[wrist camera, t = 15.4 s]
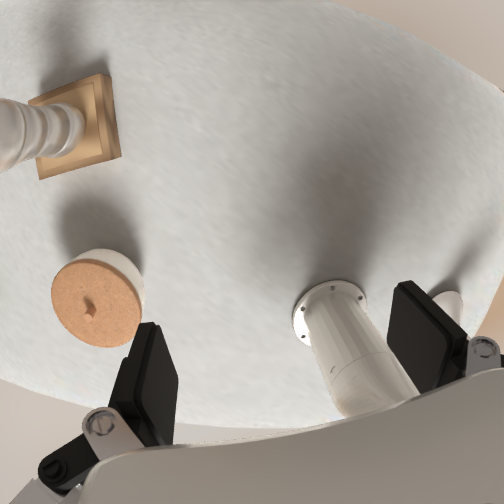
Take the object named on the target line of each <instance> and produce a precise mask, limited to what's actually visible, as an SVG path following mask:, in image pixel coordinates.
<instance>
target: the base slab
mask: <svg viewBox="0 0 504 504" xmlns="http://www.w3.org/2000/svg"><path fill="white" fill-rule="evenodd" d="M61 102H65V103H69V104H72V105H73V106H75V107H77V108H78V109H79V110H80V111H81V112H82V114H83V116H84V119H85V132H84V136H83V138H82V140H81V142H80V144H79V145H78V146H77V147H76V148H75V149H74V150H73V151H72V152H70V153H68V154H67V155H65V156H63V157H60V158H47V157H36V158H35V159H36V164H37V170H38V175H39V180H42V179H45V178H48V177H52V176H55V175H58V174H61V173H65V172H68V171H72V170H75V169H79V168H82V167H86V166H90V165H93V164H97V163H101V162H105V161H109V160H113V159H116V158H119V157H122V156H121V150H120V144H119V138H118V131H117V124H116V117H115V109H114V101H113V92H112V82H111V77H108V76H106V75H104V74H101V73H99V74H96V75H93V76H90V77H87V78H84V79H81V80H78V81H75V82H73V83H70V84H67V85H65V86H62V87H59V88H57V89H54V90H52V91H50V92H47V93H45V94H42V95H40V96H38V97H36V98H33V99H31V100H29V101H28V105H33V106H46V105H50V104H54V103H61Z"/></svg>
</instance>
